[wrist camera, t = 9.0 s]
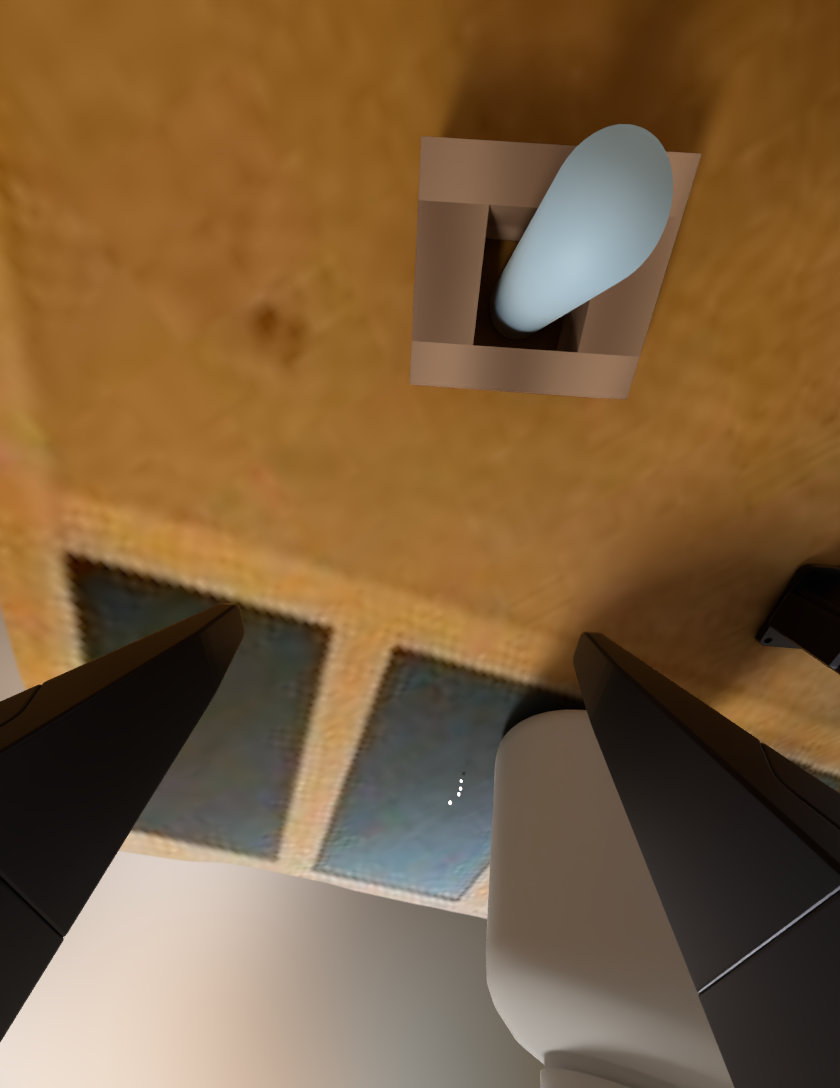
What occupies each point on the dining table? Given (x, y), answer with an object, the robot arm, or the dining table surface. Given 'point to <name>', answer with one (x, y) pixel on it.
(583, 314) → the socket block
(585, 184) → the dowel
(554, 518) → the dining table surface
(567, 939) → the jar
